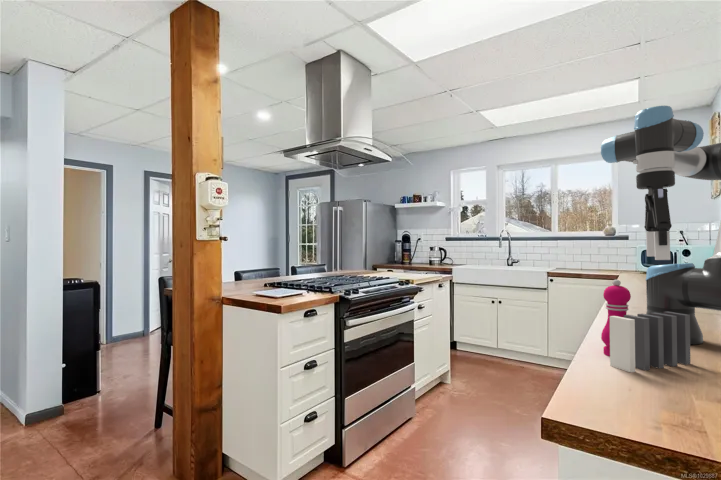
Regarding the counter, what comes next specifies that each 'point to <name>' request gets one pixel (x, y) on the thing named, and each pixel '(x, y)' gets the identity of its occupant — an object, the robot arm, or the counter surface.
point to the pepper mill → (614, 308)
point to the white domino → (622, 343)
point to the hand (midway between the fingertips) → (657, 258)
